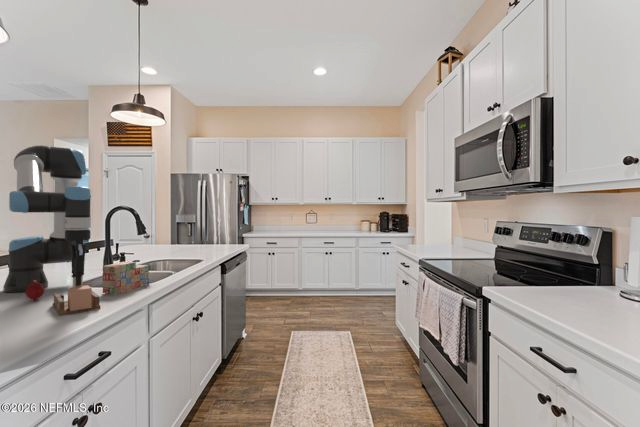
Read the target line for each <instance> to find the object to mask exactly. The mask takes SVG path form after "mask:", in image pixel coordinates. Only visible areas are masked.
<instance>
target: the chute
mask: <svg viewBox="0 0 640 427" xmlns="http://www.w3.org/2000/svg"><path fill="white" fill-rule="evenodd" d="M52 307H53V308H54V311H55V312H56V314H57V315H58V317H60V316H65V315H72V314H76V313H82V312H88V311H89V312H90V311H94V310H95V311H96V310H100V309H101V305H100V295H98V294H97V293H96V292H95V291H93V290H92V308H87V309H81V310H75V311H70V310H69V308H68V300H65V296H64V294H63V293H58V292H55V293H53V302H52Z"/></svg>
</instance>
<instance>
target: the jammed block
mask: <svg viewBox="0 0 640 427" xmlns="http://www.w3.org/2000/svg"><path fill="white" fill-rule="evenodd" d="M92 291H93V290H92V287H91V286H89V285H83V286H78V287H73V286H72V287H67V301H68V308H69V310H70V311H75V310H81V309H87V308H92Z"/></svg>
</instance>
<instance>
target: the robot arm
mask: <svg viewBox="0 0 640 427" xmlns="http://www.w3.org/2000/svg"><path fill="white" fill-rule="evenodd" d="M85 160H86V158H85V156H84V153H83V151H82V150H80V149H75V148H70V147H68V148H67V147H58V146H48V145H32V146H29V147H26V148H24V149H22V150H20V151H19V152H18V153H17V154H16V155H15V156H14V159H13V167H14V168H13V169H15V170H16V190H12V191H9V198H8V199H9V201H8V202H9V205H8V207H9V210H10V211H11V212H13V213H22V214H26V213H53V231H52V232H51V233H49V238H44V236H43V235H37V236H28V237H26V236H25V237H20V238H15V239H12V240H10V242H9V244H8V250H7V252H8V274H7V277H6V279H5V282H4V285H3V287H2V288H3V289H2V290H3V292H4V293H25V290H26V288H27V287H28V286H29V285H30V284H32V283H33V281H34V280H36V281H37V282H38V283H40V284H42V285H43V287H44V289H46V288H48V287H49V281H48V278H47V275H46V274H45V271H44V265H48V264H62V263H63V264H64V263H71V278H72V287H78V286H84V285H83V284H84V283H83V281H84V280H83V278H84V275H85V263H86V262H85V261H86V259H85V258H86V253H87V250H86V245H85V241H89V240H91V230H90V229H91V227H92V226H91V225H92V224H91V222H92V221H91V198H92V195H91V188H89V187H88V186H78V184H79V181H81V180H82V178H83V176H85V175H86V174H87V172H86V171H87V167H86V165H87V164H86V161H85ZM42 173H50V175H49V176H50V178H51V179H52V180H53V181H54V186H53V188H54V192H53V191H52V192H50V191H44V188H43V187H44V186H43V184H44V183H43V175H42ZM82 175H83V176H82Z"/></svg>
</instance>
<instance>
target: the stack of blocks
mask: <svg viewBox="0 0 640 427" xmlns="http://www.w3.org/2000/svg"><path fill="white" fill-rule="evenodd" d="M149 267H150V265H148V264H136V261H120V262H115V263H112V264H106V265H103V266H102V294H103V293H105V294H104V295H112V294H116V295H119V294H122V293H125V292H128V291H131V290H134V289H136V288H138V289H139V287H143V286H147V285H149V284H150V268H149ZM118 293H119V294H118Z"/></svg>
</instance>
